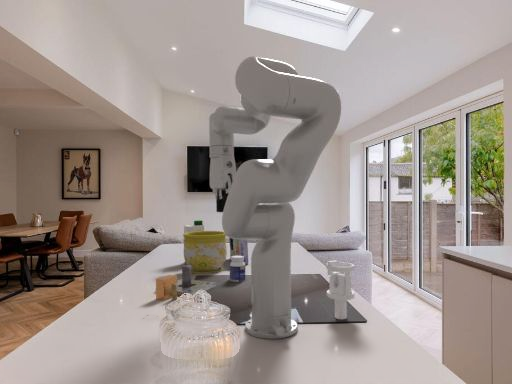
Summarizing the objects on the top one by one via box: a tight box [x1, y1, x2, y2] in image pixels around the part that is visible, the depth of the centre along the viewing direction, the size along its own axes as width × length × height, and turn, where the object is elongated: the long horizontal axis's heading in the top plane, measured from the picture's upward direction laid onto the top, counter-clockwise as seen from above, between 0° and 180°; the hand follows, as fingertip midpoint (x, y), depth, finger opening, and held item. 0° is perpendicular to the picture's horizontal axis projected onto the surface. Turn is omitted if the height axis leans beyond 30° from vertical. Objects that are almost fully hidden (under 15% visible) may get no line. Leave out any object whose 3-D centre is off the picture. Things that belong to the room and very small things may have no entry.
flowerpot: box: [182, 230, 228, 275], centre depth 150 cm, size 18×18×16 cm
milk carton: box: [183, 220, 205, 264], centre depth 170 cm, size 9×9×20 cm
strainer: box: [326, 259, 355, 320], centre depth 94 cm, size 7×7×15 cm
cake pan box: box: [229, 237, 249, 265], centre depth 174 cm, size 19×5×18 cm, turn 17°
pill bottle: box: [229, 256, 246, 283], centre depth 130 cm, size 6×6×10 cm
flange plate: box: [155, 274, 217, 301], centre depth 115 cm, size 20×14×6 cm
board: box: [171, 264, 192, 301], centre depth 118 cm, size 26×26×9 cm
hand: (222, 211), depth 112 cm, fingers closed
